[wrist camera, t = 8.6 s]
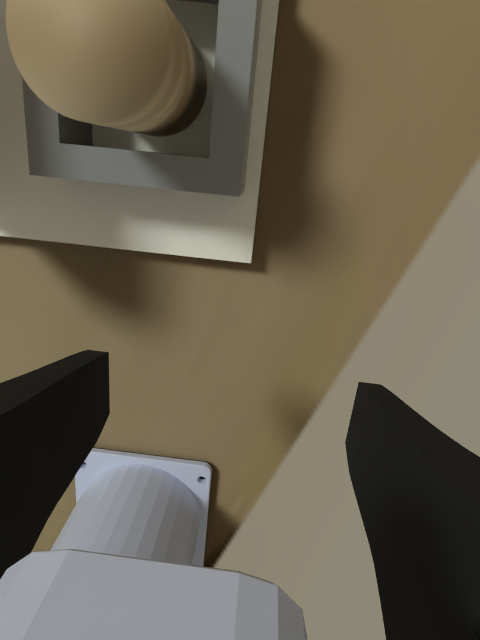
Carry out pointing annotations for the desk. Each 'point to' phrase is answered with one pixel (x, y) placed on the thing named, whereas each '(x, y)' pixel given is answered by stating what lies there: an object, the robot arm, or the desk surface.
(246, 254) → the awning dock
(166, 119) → the maple peg
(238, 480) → the desk surface
